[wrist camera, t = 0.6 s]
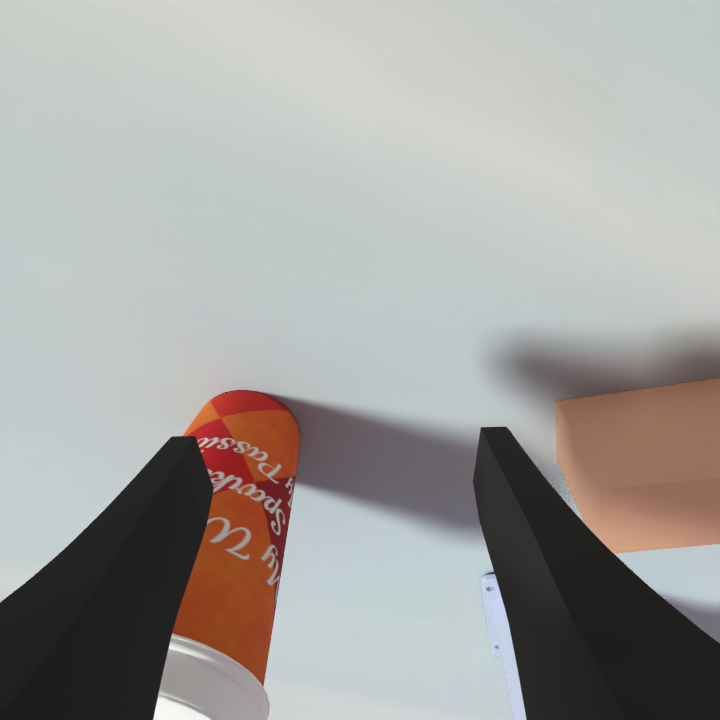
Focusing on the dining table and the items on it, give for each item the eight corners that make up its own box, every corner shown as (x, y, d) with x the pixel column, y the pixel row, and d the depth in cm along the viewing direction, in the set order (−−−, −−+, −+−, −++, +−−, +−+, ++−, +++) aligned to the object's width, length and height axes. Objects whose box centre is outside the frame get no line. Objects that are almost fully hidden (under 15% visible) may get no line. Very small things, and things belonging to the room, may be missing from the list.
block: (777, 368, 22) (895, 457, 17) (760, 433, 24) (860, 530, 19) (555, 399, 24) (600, 490, 19) (556, 458, 26) (597, 554, 21)
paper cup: (349, 426, 25) (312, 749, 13) (269, 501, 28) (183, 813, 16) (222, 342, 23) (38, 639, 11) (152, 434, 26) (-48, 739, 14)
